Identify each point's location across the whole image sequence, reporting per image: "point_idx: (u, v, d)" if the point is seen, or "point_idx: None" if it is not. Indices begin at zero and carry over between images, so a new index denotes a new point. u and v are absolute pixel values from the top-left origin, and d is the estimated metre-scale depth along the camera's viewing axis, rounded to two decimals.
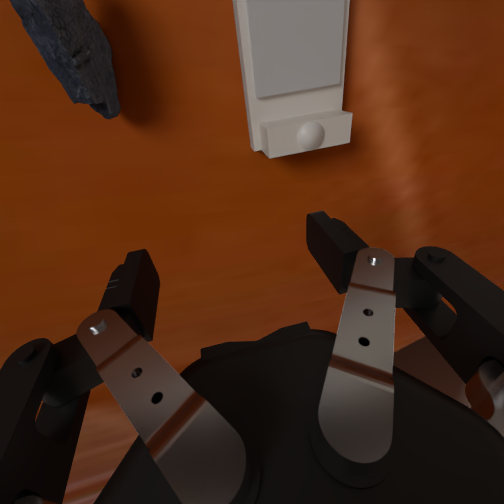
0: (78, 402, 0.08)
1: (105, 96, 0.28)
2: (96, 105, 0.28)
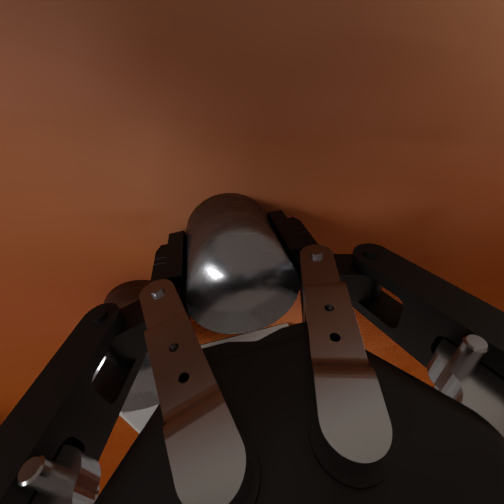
0: (131, 367, 0.09)
1: None
2: None
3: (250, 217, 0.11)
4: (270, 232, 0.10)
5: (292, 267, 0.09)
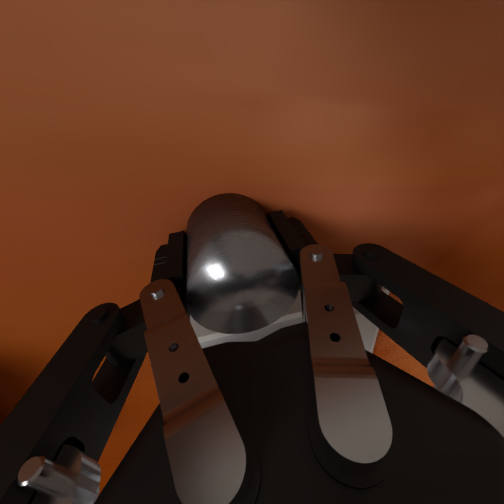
0: (132, 367, 0.09)
1: None
2: None
3: None
4: None
5: None
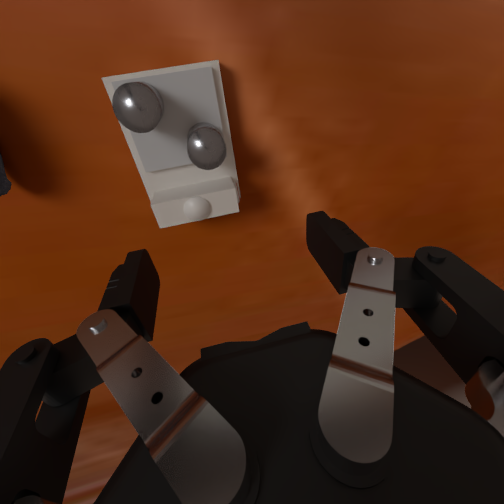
0: (78, 402, 0.08)
1: None
2: None
3: (142, 83, 0.26)
4: (150, 88, 0.26)
5: (153, 95, 0.25)
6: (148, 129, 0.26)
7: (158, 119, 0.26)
